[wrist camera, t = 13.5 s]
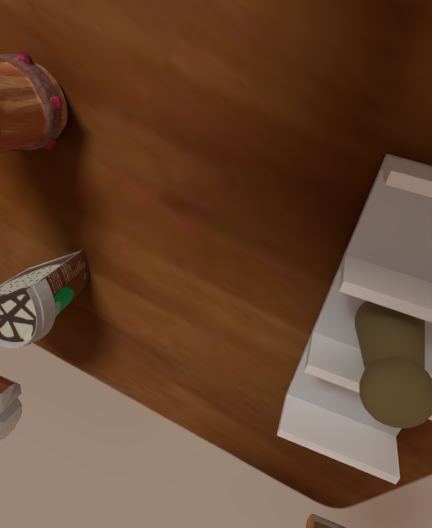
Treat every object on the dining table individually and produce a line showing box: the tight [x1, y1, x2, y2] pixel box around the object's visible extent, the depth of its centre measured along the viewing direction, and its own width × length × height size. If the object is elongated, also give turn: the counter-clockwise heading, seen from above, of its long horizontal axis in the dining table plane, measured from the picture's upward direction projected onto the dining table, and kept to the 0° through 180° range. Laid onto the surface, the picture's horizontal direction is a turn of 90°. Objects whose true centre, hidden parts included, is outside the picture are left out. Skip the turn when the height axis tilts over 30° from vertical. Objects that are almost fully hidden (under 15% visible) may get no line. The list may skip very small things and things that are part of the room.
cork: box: [355, 301, 432, 428], centre depth 33 cm, size 6×6×11 cm
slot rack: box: [277, 154, 432, 484], centre depth 35 cm, size 28×12×6 cm, turn 167°
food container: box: [0, 250, 89, 348], centre depth 45 cm, size 12×6×10 cm, turn 113°
